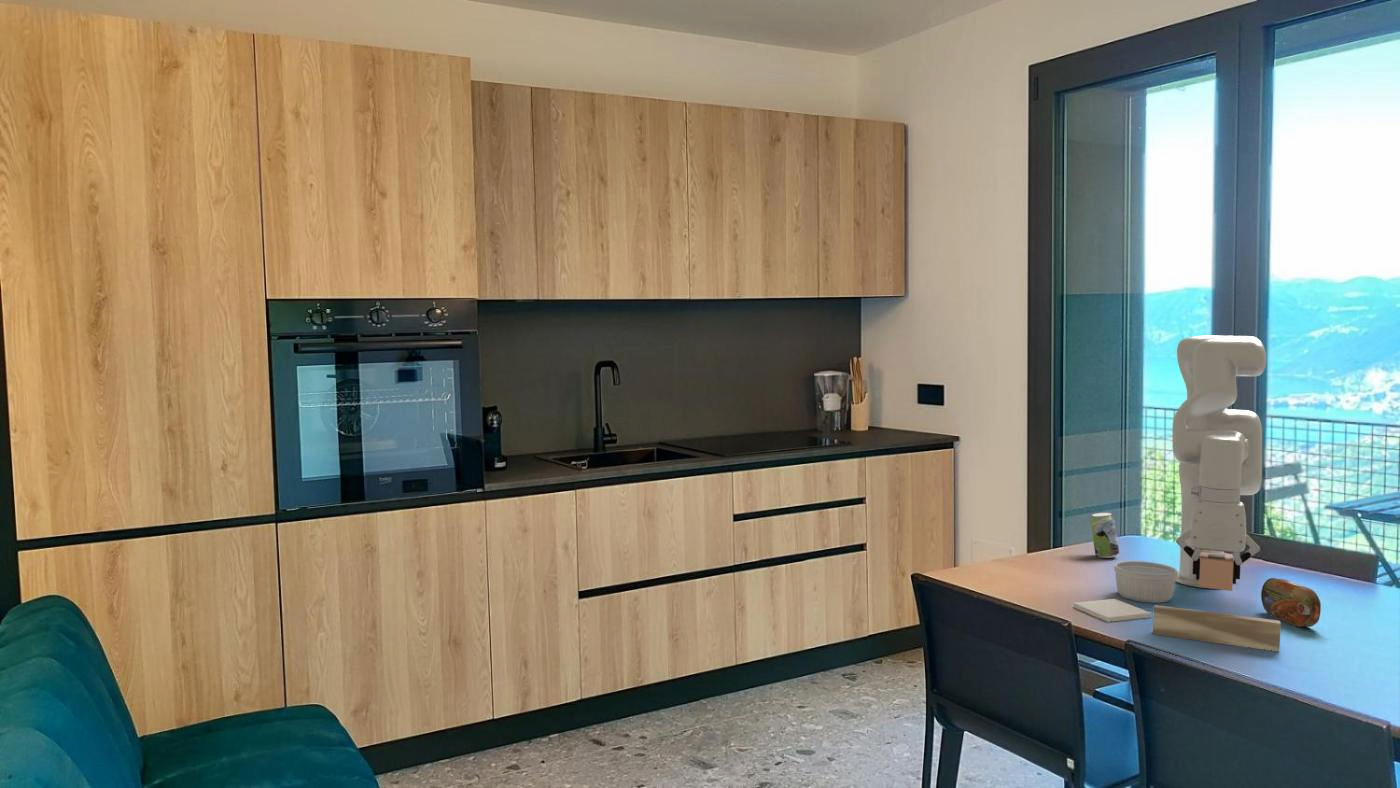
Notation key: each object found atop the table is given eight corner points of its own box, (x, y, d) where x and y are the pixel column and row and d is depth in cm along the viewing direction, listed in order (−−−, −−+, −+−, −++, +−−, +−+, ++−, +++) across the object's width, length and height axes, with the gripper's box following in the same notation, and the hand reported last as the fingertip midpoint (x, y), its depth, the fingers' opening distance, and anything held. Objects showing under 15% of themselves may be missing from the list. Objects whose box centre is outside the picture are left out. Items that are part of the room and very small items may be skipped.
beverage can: (1121, 560, 253) (1122, 516, 252) (1092, 559, 254) (1093, 514, 254) (1115, 554, 259) (1117, 511, 258) (1087, 553, 261) (1088, 510, 260)
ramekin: (1135, 586, 229) (1136, 557, 228) (1188, 599, 217) (1189, 569, 217) (1101, 594, 221) (1102, 565, 221) (1154, 608, 210) (1155, 577, 210)
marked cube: (1199, 579, 202) (1200, 551, 201) (1231, 583, 199) (1232, 554, 198) (1199, 587, 197) (1200, 557, 196) (1232, 590, 194) (1233, 561, 193)
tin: (1258, 610, 208) (1260, 573, 208) (1272, 610, 209) (1274, 572, 208) (1308, 632, 193) (1310, 592, 193) (1322, 632, 194) (1324, 592, 193)
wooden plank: (1153, 631, 194) (1154, 604, 194) (1278, 648, 184) (1279, 620, 183) (1152, 634, 193) (1153, 607, 192) (1279, 651, 182) (1280, 623, 182)
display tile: (1114, 603, 214) (1114, 598, 214) (1150, 617, 204) (1150, 612, 203) (1073, 607, 211) (1073, 602, 211) (1107, 621, 200) (1108, 617, 200)
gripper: (1172, 494, 197) (1168, 579, 199) (1268, 502, 189) (1264, 590, 190) (1173, 488, 203) (1170, 570, 205) (1266, 495, 195) (1262, 580, 197)
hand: (1215, 579), depth 198 cm, fingers closed on marked cube, 6 cm apart
